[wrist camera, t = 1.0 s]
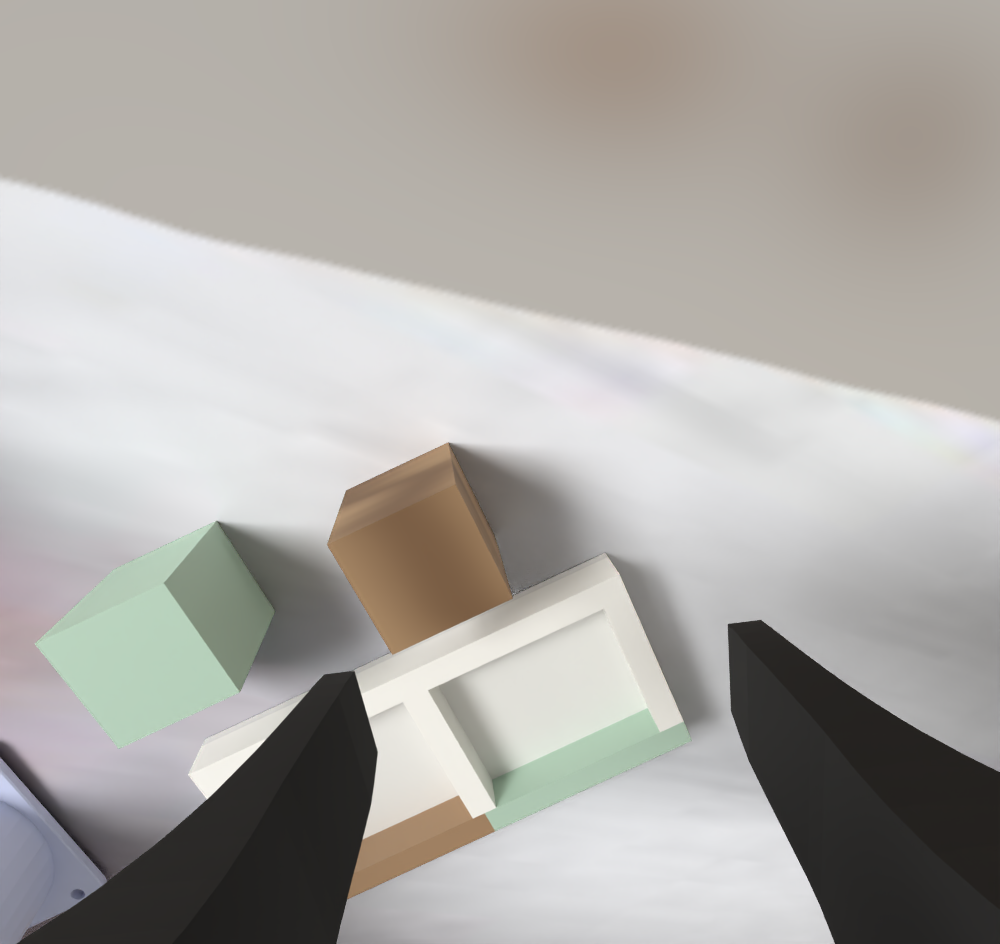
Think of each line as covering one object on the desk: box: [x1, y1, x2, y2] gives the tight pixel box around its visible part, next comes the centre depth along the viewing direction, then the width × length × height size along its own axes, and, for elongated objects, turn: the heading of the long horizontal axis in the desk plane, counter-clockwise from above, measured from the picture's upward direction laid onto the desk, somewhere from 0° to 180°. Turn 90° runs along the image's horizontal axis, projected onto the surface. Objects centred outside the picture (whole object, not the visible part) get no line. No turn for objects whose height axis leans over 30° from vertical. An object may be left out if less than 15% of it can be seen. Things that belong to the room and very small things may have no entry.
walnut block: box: [327, 443, 513, 655], centre depth 21 cm, size 4×4×5 cm
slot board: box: [188, 553, 692, 899], centre depth 25 cm, size 17×8×2 cm, turn 114°
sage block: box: [35, 521, 275, 749], centre depth 21 cm, size 4×4×5 cm
